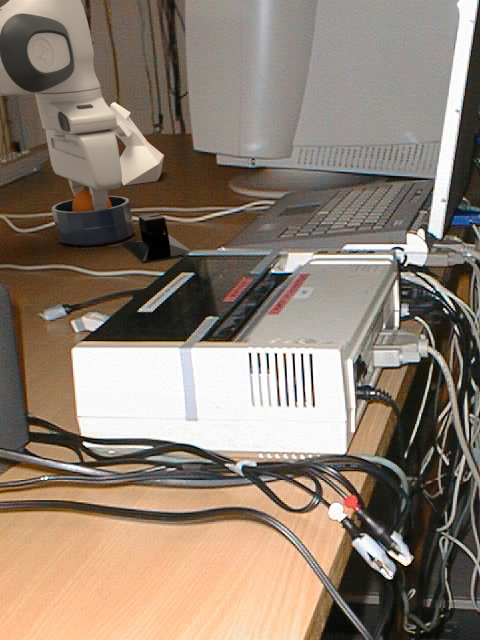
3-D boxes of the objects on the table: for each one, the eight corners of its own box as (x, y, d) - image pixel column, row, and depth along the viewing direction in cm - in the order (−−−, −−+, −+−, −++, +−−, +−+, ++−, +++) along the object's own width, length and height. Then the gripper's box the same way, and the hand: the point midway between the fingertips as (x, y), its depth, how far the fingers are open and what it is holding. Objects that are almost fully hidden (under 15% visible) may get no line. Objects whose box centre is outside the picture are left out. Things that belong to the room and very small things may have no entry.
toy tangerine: (84, 234, 131) (75, 192, 129) (71, 227, 135) (62, 187, 133) (121, 227, 134) (113, 186, 131) (107, 221, 138) (99, 181, 135)
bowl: (74, 252, 129) (66, 216, 126) (49, 238, 137) (42, 204, 134) (146, 238, 134) (140, 203, 132) (119, 225, 142) (112, 192, 140)
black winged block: (194, 255, 125) (188, 221, 122) (141, 264, 122) (135, 229, 120) (169, 236, 134) (164, 204, 132) (120, 244, 132) (114, 211, 129)
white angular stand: (167, 170, 183) (156, 96, 176) (160, 184, 171) (147, 104, 164) (125, 173, 182) (112, 99, 175) (115, 187, 170) (100, 107, 163)
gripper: (28, 109, 133) (50, 206, 140) (74, 121, 118) (96, 229, 125) (70, 104, 136) (89, 199, 143) (120, 115, 121) (139, 221, 128)
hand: (93, 213), depth 134 cm, fingers closed on toy tangerine, 5 cm apart
